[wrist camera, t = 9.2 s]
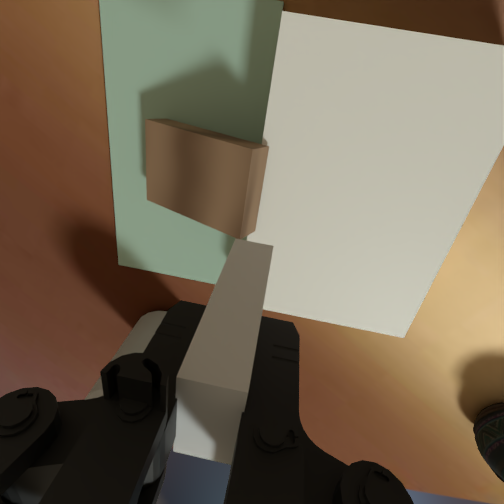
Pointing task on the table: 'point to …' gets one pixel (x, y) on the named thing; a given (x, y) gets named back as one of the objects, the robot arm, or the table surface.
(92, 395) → the can
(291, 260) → the white flat block
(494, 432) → the mate gourd
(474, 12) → the table surface
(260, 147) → the brown wooden slab
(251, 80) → the mat
